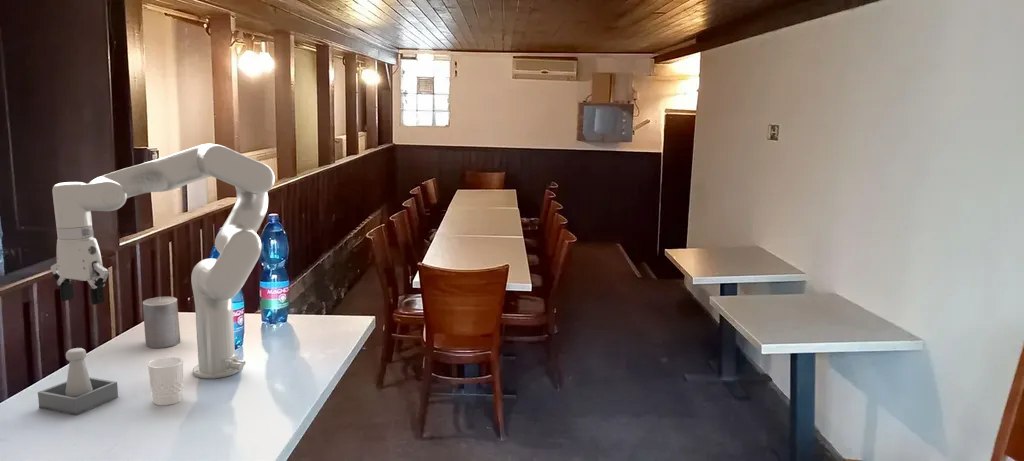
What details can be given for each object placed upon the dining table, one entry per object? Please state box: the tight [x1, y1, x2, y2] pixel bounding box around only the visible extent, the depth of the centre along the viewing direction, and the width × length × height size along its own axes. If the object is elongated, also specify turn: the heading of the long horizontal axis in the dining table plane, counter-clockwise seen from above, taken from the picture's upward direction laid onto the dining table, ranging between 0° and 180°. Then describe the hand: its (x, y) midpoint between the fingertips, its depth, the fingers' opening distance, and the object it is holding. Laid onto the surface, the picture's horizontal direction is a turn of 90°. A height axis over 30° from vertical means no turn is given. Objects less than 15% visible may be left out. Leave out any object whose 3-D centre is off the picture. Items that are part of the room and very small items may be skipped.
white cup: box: [147, 356, 184, 406], centre depth 185 cm, size 8×8×10 cm
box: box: [37, 376, 119, 416], centre depth 183 cm, size 12×12×4 cm
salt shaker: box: [65, 347, 93, 398], centre depth 182 cm, size 6×6×13 cm
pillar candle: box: [142, 296, 181, 349], centre depth 227 cm, size 10×10×15 cm
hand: (82, 301), depth 183 cm, fingers open, 9 cm apart
